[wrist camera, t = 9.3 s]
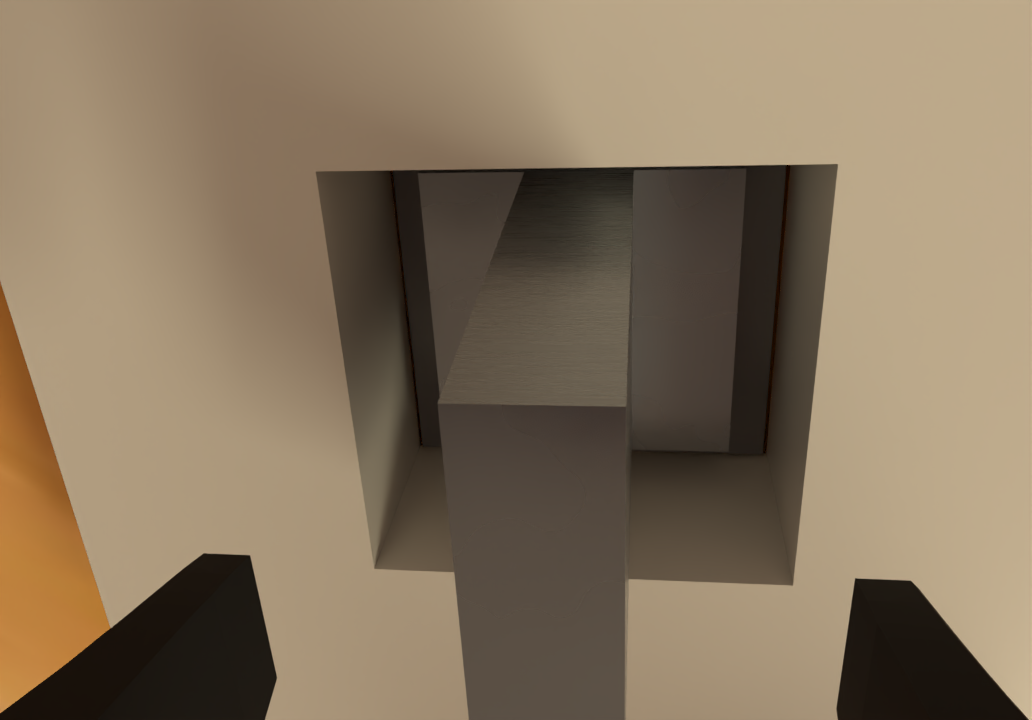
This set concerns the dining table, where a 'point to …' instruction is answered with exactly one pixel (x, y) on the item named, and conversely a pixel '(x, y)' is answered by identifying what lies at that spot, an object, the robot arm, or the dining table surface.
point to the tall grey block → (569, 402)
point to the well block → (384, 331)
